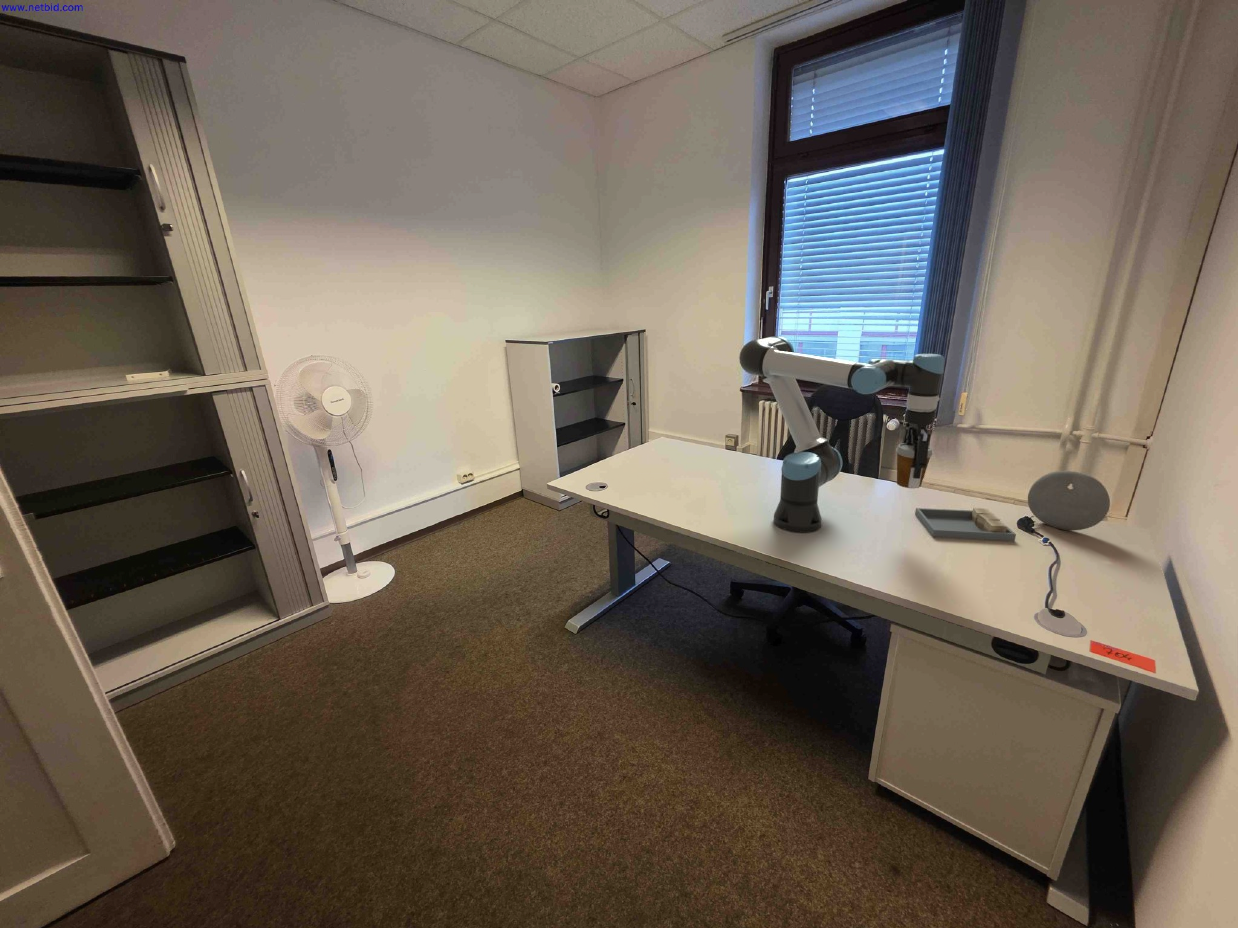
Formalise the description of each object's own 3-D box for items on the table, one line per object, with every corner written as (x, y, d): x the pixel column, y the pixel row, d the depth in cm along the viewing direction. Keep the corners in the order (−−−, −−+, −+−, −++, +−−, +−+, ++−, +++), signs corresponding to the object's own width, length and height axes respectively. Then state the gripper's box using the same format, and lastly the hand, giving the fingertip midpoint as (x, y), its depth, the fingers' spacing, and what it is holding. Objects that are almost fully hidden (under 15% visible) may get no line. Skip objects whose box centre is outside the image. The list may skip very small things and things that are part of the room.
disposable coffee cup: (932, 491, 143) (939, 452, 139) (896, 490, 145) (902, 451, 141) (919, 479, 152) (926, 442, 148) (886, 478, 154) (892, 442, 150)
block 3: (989, 537, 147) (991, 525, 146) (983, 531, 151) (985, 519, 150) (1004, 538, 147) (1007, 526, 145) (997, 532, 150) (1000, 520, 149)
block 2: (984, 531, 151) (986, 519, 150) (976, 525, 155) (978, 514, 154) (997, 531, 151) (1000, 519, 150) (989, 525, 155) (991, 514, 153)
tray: (932, 538, 150) (933, 529, 149) (914, 516, 165) (915, 508, 164) (1014, 543, 145) (1016, 534, 144) (988, 519, 160) (989, 511, 159)
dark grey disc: (1101, 533, 148) (1118, 475, 142) (1099, 541, 143) (1117, 482, 137) (1024, 516, 161) (1036, 462, 155) (1020, 524, 156) (1032, 468, 150)
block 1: (974, 524, 156) (976, 512, 155) (971, 519, 160) (973, 507, 158) (989, 525, 155) (992, 514, 153) (985, 520, 158) (988, 509, 157)
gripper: (949, 417, 130) (935, 496, 138) (923, 401, 150) (911, 471, 157) (918, 417, 132) (905, 494, 140) (896, 401, 151) (885, 470, 159)
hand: (908, 482), depth 148 cm, fingers closed on disposable coffee cup, 8 cm apart
